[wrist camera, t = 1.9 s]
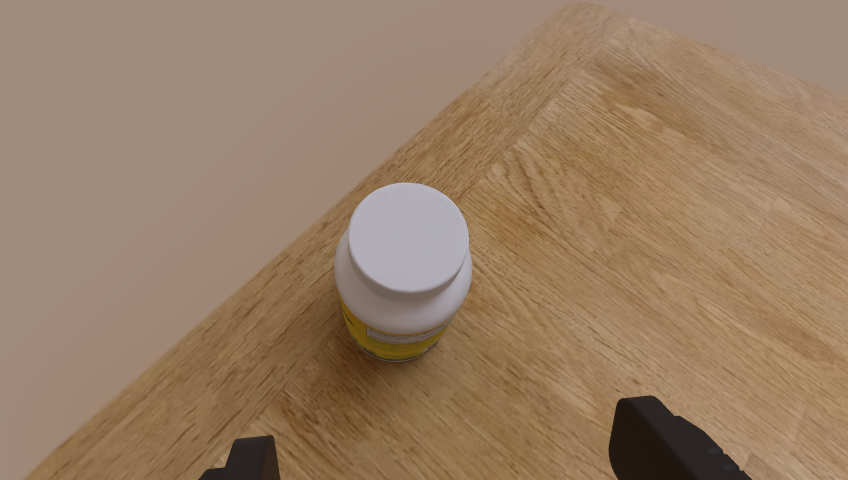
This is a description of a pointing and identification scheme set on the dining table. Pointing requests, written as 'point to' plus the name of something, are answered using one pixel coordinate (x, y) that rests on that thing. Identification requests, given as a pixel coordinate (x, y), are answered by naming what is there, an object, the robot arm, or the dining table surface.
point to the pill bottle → (402, 270)
